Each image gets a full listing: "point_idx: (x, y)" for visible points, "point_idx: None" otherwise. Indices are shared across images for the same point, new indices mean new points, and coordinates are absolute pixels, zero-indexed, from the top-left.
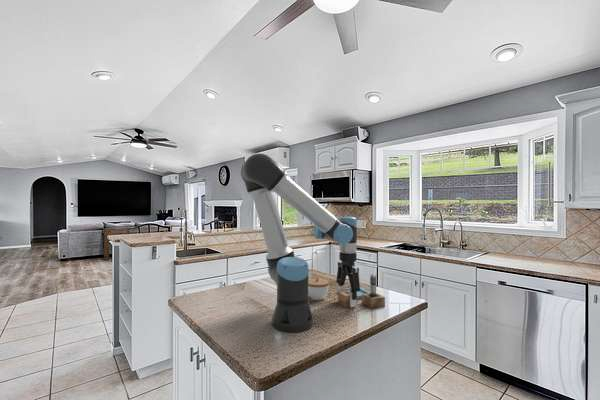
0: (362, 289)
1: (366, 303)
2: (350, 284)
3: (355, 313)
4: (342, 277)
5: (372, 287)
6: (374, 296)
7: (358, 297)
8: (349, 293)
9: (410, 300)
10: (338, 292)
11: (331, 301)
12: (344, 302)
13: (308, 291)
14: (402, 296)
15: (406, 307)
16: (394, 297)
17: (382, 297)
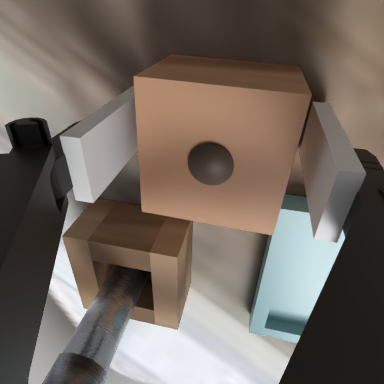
0: None
1: (138, 213)
2: (15, 191)
3: (32, 47)
4: (317, 300)
5: (78, 331)
6: (105, 279)
7: (265, 252)
8: (185, 169)
9: (140, 364)
10: (304, 92)
11: (373, 13)
12: (170, 61)
13: None
14: (190, 380)
15: (76, 309)
16: (194, 359)
17: (81, 296)
